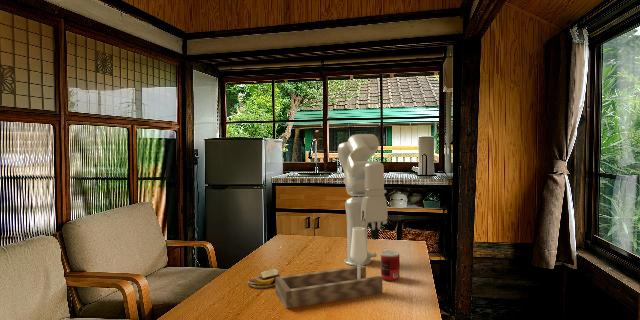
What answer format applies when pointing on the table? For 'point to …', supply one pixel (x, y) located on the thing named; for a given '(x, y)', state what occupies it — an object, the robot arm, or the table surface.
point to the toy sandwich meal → (264, 279)
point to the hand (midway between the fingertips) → (374, 238)
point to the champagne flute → (358, 247)
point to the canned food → (390, 266)
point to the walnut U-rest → (325, 286)
